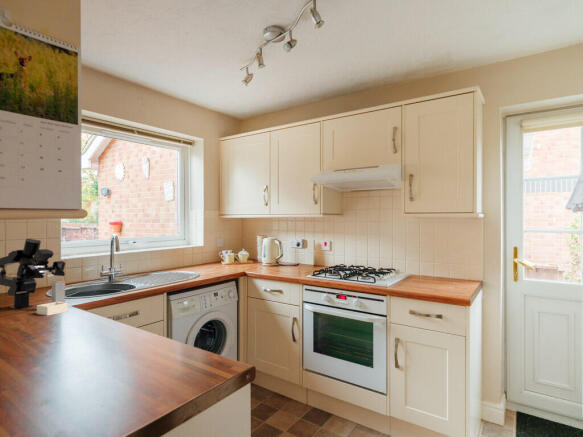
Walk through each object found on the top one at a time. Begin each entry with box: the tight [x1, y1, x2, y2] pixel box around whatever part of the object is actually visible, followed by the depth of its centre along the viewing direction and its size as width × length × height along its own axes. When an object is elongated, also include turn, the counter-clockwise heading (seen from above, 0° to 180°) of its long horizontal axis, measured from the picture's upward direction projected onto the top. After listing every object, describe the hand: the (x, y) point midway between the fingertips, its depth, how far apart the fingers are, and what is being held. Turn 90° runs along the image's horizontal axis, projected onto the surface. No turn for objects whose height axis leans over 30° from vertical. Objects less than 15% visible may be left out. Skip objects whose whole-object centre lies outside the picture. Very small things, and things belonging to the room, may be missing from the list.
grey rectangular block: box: [51, 280, 66, 303], centre depth 152 cm, size 4×4×12 cm
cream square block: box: [36, 302, 69, 316], centre depth 143 cm, size 8×8×4 cm
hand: (54, 275), depth 148 cm, fingers open, 9 cm apart
